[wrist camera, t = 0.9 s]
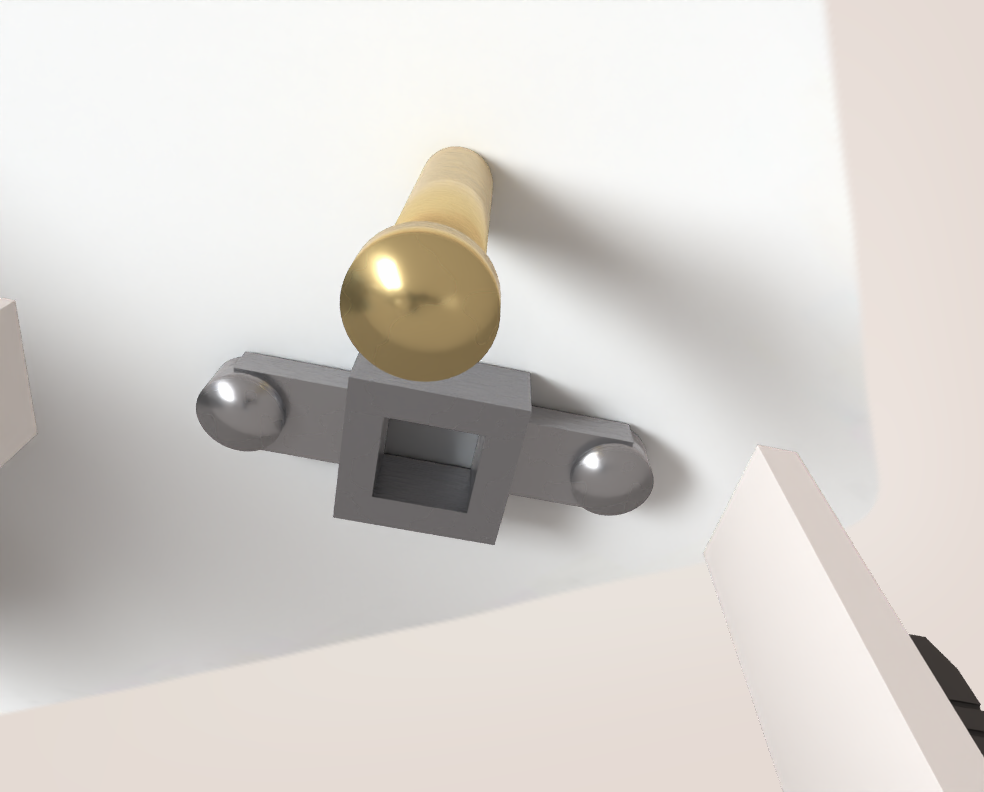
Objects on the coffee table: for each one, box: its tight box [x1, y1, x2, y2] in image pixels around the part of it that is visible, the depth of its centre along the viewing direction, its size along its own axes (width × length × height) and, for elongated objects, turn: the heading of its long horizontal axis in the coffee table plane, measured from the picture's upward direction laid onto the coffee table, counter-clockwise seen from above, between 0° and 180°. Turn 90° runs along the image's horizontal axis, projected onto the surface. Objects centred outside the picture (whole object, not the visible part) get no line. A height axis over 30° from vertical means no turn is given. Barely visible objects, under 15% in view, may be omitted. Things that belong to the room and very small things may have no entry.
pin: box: [340, 147, 501, 382], centre depth 22 cm, size 4×4×13 cm
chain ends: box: [196, 352, 653, 545], centre depth 33 cm, size 22×8×4 cm, turn 78°
